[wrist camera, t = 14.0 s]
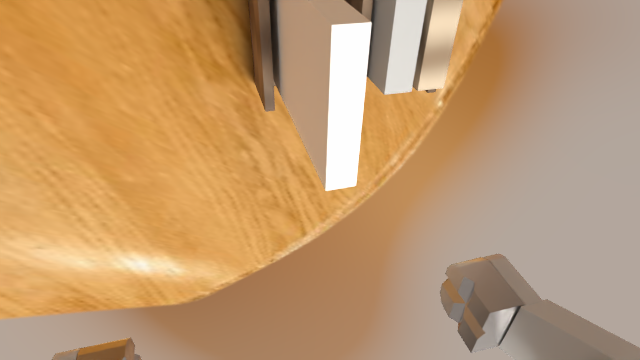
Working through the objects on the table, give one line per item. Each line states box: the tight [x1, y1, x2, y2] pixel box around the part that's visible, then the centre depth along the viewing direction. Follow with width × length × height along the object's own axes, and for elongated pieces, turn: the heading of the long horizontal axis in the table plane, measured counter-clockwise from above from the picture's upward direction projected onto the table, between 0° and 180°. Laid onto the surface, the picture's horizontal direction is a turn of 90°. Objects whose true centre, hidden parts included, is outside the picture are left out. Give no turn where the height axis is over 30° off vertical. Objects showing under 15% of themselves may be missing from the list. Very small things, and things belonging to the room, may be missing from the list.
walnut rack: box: [248, 0, 436, 111], centre depth 43 cm, size 15×20×7 cm
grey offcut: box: [367, 0, 427, 95], centre depth 42 cm, size 10×3×10 cm, turn 178°
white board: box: [269, 0, 372, 191], centre depth 35 cm, size 12×2×22 cm, turn 178°
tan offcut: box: [412, 0, 463, 91], centre depth 43 cm, size 10×3×10 cm, turn 178°
